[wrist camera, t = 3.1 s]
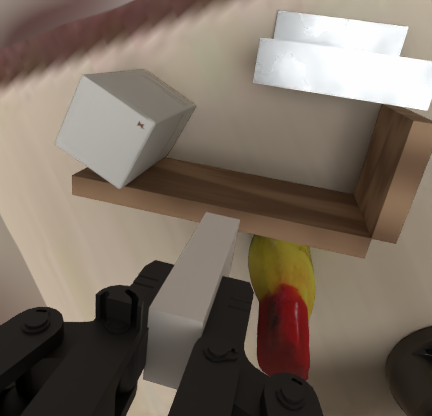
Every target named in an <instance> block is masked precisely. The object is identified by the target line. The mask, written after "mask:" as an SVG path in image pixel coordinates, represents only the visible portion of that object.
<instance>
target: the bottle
mask: <svg viewBox="0 0 432 416" xmlns="http://www.w3.org/2000/svg"><path fill="white" fill-rule="evenodd" d="M248 267H249V273H250V278H251V282H252V286H253V289H254V292H255V294H256V296H257V298H258V300H259V317H258V327H257V359H258V363H259V366H260V368H261V369H262V371H263V372H264V373H266V374H267V375H268V376H272V375H274V374H276V373H283V372H286V373H290V374H295V375H297V376H299V377H300V378H302V379H304V380H307V379H308V371H309V367H310V354H309V327H308V321H309V318H310V315H311V312H312V309H313V305H314V301H315V278H314V271H313V266H312V261H311V256H310V250H309V246H305V245H301V244H296V243H291V242H287V241H282V240H278V239H273V238H269V237H264V236H259V235H254V237H253V239H252V241H251V245H250V249H249V256H248Z"/></svg>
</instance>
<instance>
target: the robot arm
mask: <svg viewBox="0 0 432 416" xmlns="http://www.w3.org/2000/svg"><path fill="white" fill-rule="evenodd" d="M239 223H240V219H235V218H231V217H226V216H222V215H217V214H213V213H208V212H206V213H205V215H204V217H203V218H202V220H201V222H200V223H199V225H198V227H197V228H196V230H195V232H194V233H193V235H192V237H191V238H190V240H189V242H188V243H187V245H186V247H185V248H184V250H183V252H182V253H181V255H180V257H179V258H178V260H177V262H176V264H175V265H173V264H169V263H165V262H161V261H157V260H155V261H153V262H152V263H150V264H148V265H146V266H145V267H144V268H143V269H142V271H141V272H140V274H139V275H138V277H137V278H136V279H135V280H134V282H133V284H131V286H123V285H116V286H110V287H107V288H104V289H102V290H101V291H99V292H98V293H97V294H96V318H95V319H94V321H90V322H63V317H62V314H61V313H60V312H59V311H57V310H56V309H53V308H50V307H36V308H32V309H28V310H26V311H24V312H22V313H20V314H18V315H16V316H15V317H13V318H11V319H10V320H9V321H7V322H5V323H4V324H2V325H0V416H126V414H127V412H128V410H129V408H130V406H131V404H132V402H133V399H134V397H135V395H136V391H137V382H138V379H139V377H140V375H141V373H142V371H143V369H144V373H143V380H147V381H150V382H154V383H157V384H160V385H164V386H167V387H170V388H174V389H177V392H176V395H175V398H174V401H173V403H172V406H171V409H170V411H169V414H168V416H323V413H322V410H321V407H320V404H319V400H318V397H317V395H316V393H315V391H314V390H313V388H312V387H311V386H310V385H309V384H308V383H307V382H306V381H305V380H304V379H302V378H300V377H299V376H297V375H295V374H290V373H286V372H283V373H276V374H274V375H272V376H270V377H269V376H268V375H266V374H264V373H263V372H261V371H260V370H258V369H257V368H255V367H254V366H253V365H252V364H251V363H250V362H249V360H248V358H247V357H246V355H245V351H244V342H245V336H246V331H247V326H248V321H249V315H250V310H251V304H252V299H253V294H254V292H253V289H252V287H251V285H250V283H249V282H245V281H241V280H237V279H233V278H229V274H230V269H231V264H232V259H233V254H234V249H235V244H236V238H237V233H238V228H239ZM386 375H387V379H388V383H389V387H390V390H391V393H392V395H393V397H394V399H395V401H396V402H397V404H398V405H399V406H400V407H401V409H402V410H403V411H404V412H405V414H406V415H407V416H432V327H430V328H426V329H423V330H420V331H418V332H415V333H413V334H411V335H409V336H408V337H406V338H405V339H403V340H402V341H401V342H400V343H399V344H397V346H396V347H395V348H394V349H393V350H392V352H391V353H390V355H389V358H388V360H387V364H386Z"/></svg>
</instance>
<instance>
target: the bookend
mask: <svg viewBox="0 0 432 416" xmlns="http://www.w3.org/2000/svg"><path fill="white" fill-rule="evenodd" d="M407 31H408V27H405V26H397V25H390V24H382V23H374V22H366V21H358V20H351V19H343V18H335V17H327V16H319V15H312V14H304V13H296V12H288V11H280V10H278V16H277V22H276V27H275V33H274V38H273V39H269V38H262V37H260V43H259V49H258V55H257V61H256V67H255V73H254V79H253V83H256V84H263V85H269V86H275V87H282V88H288V89H294V90H301V91H307V92H313V93H320V94H326V95H332V96H339V97H345V98H351V99H357V100H364V101H370V102H376V103H383V104H389V105H395V106H402V107H408V108H414V109H421V110H428V108H429V105H430V102H431V99H432V61H426V60H419V59H412V58H405V57H399V56H400V53H401V49H402V46H403V43H404V40H405V37H406V34H407Z"/></svg>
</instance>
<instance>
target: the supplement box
mask: <svg viewBox="0 0 432 416" xmlns="http://www.w3.org/2000/svg"><path fill="white" fill-rule="evenodd" d="M195 107H196V105H194V104H193V103H192V102H190V101H189V100H188V99H186V98H185V97H183V96H182V95H180V94H179V93H178V92H176V91H175V90H173V89H172V88H170V87H169V86H168V85H166V84H165V83H163V82H162V81H160V80H159V79H158V78H156V77H155V76H153V75H152V74H150V73H149V72H148V71H146V70H144V69H142V70H131V71H120V72H108V73H97V74H86V75H82V77H81V79H80V82H79V84H78V87H77V89H76V92H75V94H74V96H73V99H72V101H71V104H70V106H69V109H68V111H67V114H66V116H65V119H64V121H63V124H62V126H61V129H60V131H59V134H58V136H57V139H56V141H55V145H56V146H58V147H59V148H60V149H62V150H63V151H65V152H66V153H68V154H69V155H71V156H72V157H74V158H75V159H77V160H78V161H80V162H81V163H82V164H84V165H85V166H87V167H88V168H90V169H91V170H93V171H94V172H96V173H97V174H98V175H100V176H101V177H102V178H104V179H105V180H107V181H108V182H110V183H111V184H112V185H114V186H115V187H116V188H118V189H121V188H122V187H124V186H125V185H127V184H128V183H129V182H131V181H132V180H134V179H135V178H136V177H138V176H139V175H140V174H142V173H143V172H144V171H146V170H147V169H148V168H150V167H151V166H153V165H154V164H155V163H157V162H158V161H159V160H161V159H162V158H164V157H165V156H167V155H168V153H169V152H170V150H171V148H172V147H173V145H174V143H175V142H176V140H177V138H178V137H179V135H180V133H181V132H182V130H183V128H184V126H185V125H186V123H187V121H188V119H189V118H190V116H191V114H192V113H193V111H194V109H195Z"/></svg>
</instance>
